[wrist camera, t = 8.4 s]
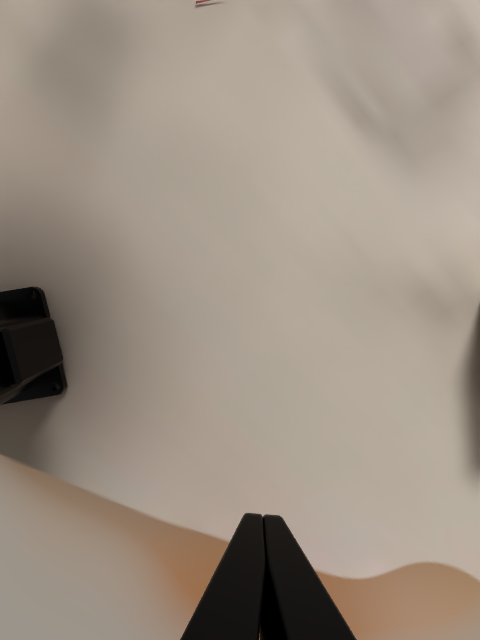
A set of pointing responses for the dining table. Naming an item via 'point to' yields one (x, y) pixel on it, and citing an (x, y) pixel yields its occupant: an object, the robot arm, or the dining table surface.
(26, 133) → the dining table surface
